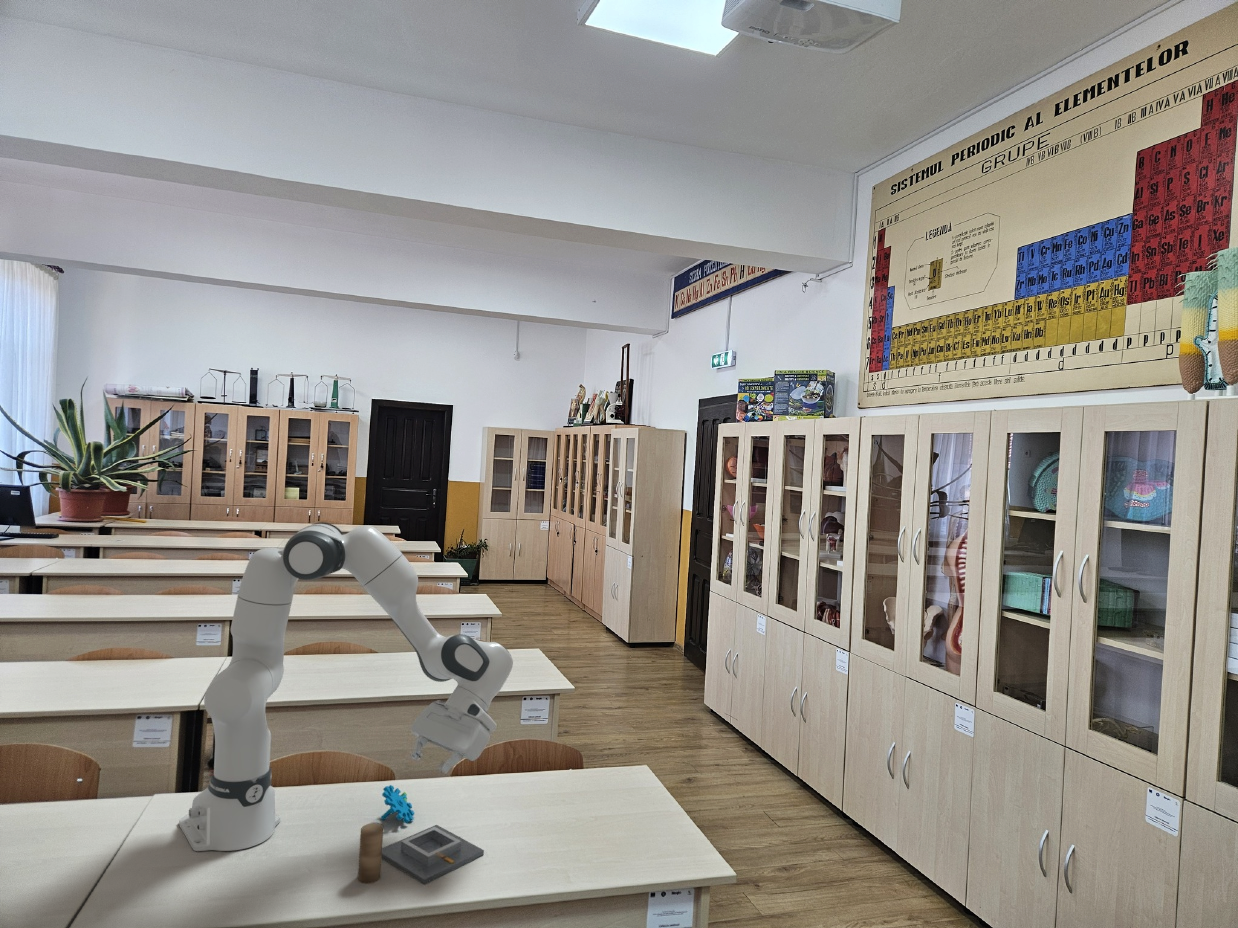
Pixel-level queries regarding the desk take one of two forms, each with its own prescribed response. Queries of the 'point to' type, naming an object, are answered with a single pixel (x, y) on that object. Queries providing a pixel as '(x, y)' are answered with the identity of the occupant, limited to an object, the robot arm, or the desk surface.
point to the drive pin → (370, 853)
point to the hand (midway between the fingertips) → (427, 764)
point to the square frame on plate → (430, 853)
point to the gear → (397, 804)
